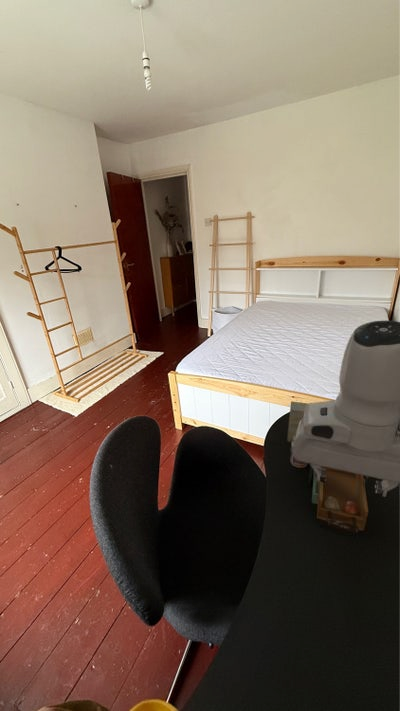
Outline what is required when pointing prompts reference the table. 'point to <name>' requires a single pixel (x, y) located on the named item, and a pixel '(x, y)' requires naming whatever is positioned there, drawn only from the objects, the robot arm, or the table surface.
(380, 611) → the table surface
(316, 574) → the table surface
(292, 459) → the pill bottle
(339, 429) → the robot arm
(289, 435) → the cosmetic box
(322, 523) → the cradle
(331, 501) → the cream ball
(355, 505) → the terracotta ball
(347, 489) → the open cardboard crate
